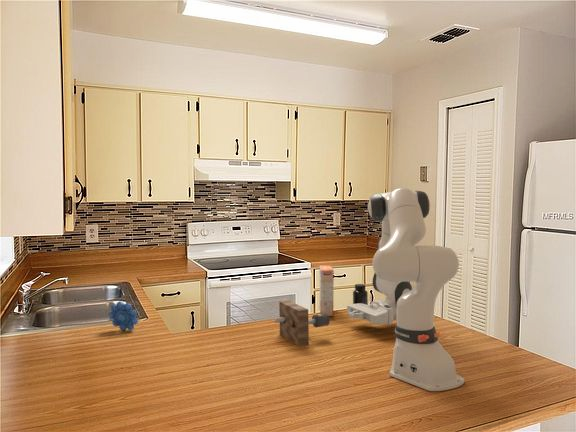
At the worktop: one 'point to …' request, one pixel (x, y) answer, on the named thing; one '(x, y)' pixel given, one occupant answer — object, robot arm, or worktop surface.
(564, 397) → the worktop surface
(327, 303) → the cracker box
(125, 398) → the worktop surface
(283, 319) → the teal knob
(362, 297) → the supplement bottle
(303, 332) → the block
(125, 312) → the blue gear
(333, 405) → the worktop surface
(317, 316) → the black knob
